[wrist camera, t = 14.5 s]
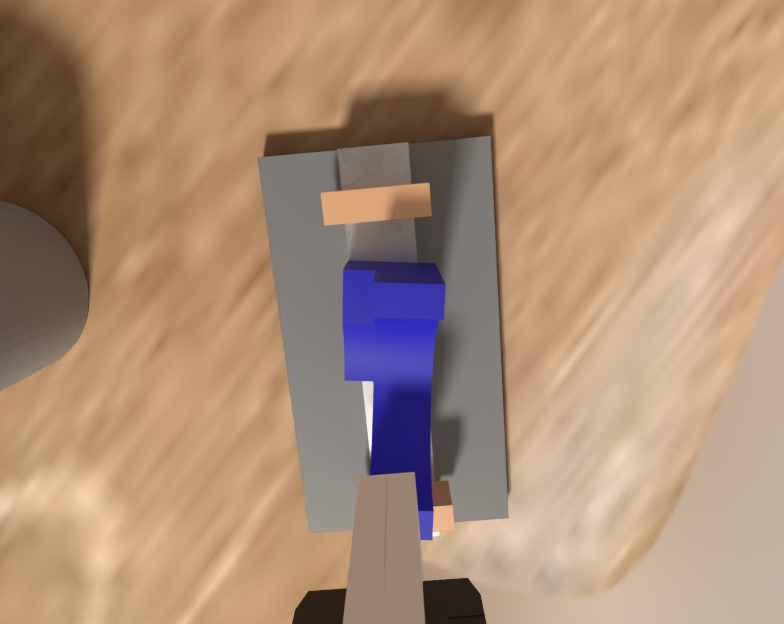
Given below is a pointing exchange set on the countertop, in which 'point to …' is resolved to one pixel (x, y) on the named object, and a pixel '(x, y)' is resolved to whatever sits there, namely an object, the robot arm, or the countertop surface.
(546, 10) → the countertop surface
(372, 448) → the cable clip
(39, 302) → the coffee mug
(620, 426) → the countertop surface
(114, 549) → the countertop surface
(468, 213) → the rail mount
